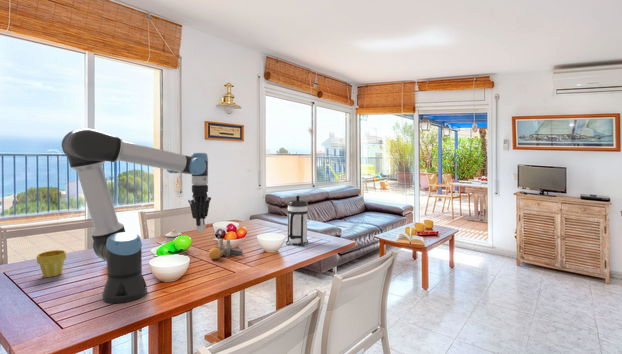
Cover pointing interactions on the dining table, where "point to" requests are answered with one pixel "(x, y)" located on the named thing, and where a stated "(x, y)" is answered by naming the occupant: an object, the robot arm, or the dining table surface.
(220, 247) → the back pin left
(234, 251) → the back wall
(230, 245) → the front pin
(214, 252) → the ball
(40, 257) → the plant pot
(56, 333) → the dining table surface
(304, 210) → the coffee press
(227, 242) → the back pin right
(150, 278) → the dining table surface
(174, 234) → the teacup with lid
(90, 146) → the robot arm
